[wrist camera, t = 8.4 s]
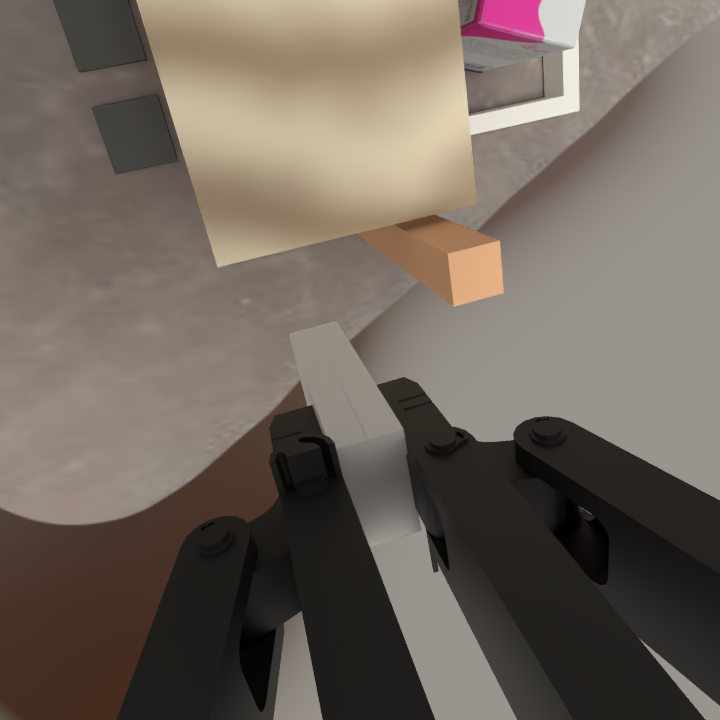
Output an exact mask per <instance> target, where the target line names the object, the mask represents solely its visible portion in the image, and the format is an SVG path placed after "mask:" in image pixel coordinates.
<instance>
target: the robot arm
mask: <svg viewBox="0 0 720 720" xmlns="http://www.w3.org/2000/svg"><path fill="white" fill-rule="evenodd" d="M289 337H290V341H291V345H292V349H293V352H294V356H295V360H296V364H297V368H298V371H299V375H300V379H301V383H302V387H303V391H304V394H305V398H306V402H307V407H303V408H300V409H296V410H293V411H290V412H286V413H283V414H280V415H276V416H275V417H274V419H273V421H272V423H271V425H270V427H269V431H270V436H271V440H272V446H273V452H272V453H271V455H270V461H269V463H270V467H271V470H272V473H273V476H274V479H275V483H276V486H277V489H278V492H279V497H278V499H277V500H276V502H275V503H274V505H273V506H272V507H271V508H270V509H269V510H268V511H267V512H265V513H264V514H263V515H261V516H260V517H258V518H256V519H254V520H253V521H251V522H249V523H246V521H245V520H244V519H241V518H239V517H236V516H222V517H218V518H215V519H211V520H209V521H207V522H205V523H203V524H201V525H200V526H198V527H197V528H195V529H194V530H193V531H192V532H191V533H190V534H189V535H188V536H187V537H186V539H185V541H184V542H183V544H182V546H181V548H180V551H179V553H178V556H177V559H176V561H175V564H174V567H173V570H172V572H171V575H170V578H169V580H168V583H167V586H166V588H165V591H164V594H163V596H162V599H161V602H160V604H159V607H158V610H157V613H156V615H155V618H154V621H153V623H152V626H151V629H150V631H149V634H148V637H147V639H146V642H145V645H144V647H143V650H142V653H141V656H140V658H139V661H138V664H137V667H136V669H135V672H134V675H133V677H132V680H131V682H130V685H129V688H128V690H127V693H126V696H125V698H124V701H123V704H122V706H121V710H120V712H119V715H118V717H117V720H273V717H274V709H275V701H276V693H277V685H278V676H279V669H280V661H281V653H282V645H283V636H284V624H283V623H284V622H286V621H287V620H289V619H290V618H292V617H293V616H294V615H296V614H297V613H299V612H300V611H302V614H303V620H304V624H305V630H306V635H307V640H308V645H309V650H310V656H311V661H312V666H313V671H314V677H315V682H316V686H317V692H318V697H319V702H320V707H321V713H322V718H323V720H435V718H434V716H433V713H432V710H431V708H430V705H429V702H428V700H427V697H426V694H425V692H424V689H423V687H422V684H421V681H420V679H419V676H418V674H417V671H416V668H415V665H414V663H413V660H412V658H411V655H410V652H409V650H408V647H407V644H406V642H405V639H404V636H403V634H402V631H401V629H400V626H399V623H398V621H397V618H396V615H395V613H394V610H393V607H392V605H391V602H390V599H389V597H388V594H387V592H386V589H385V586H384V584H383V581H382V578H381V576H380V573H379V570H378V568H377V565H376V562H375V560H374V557H373V554H372V552H371V549H370V547H373V546H376V545H379V544H382V543H385V542H388V541H390V540H394V539H397V538H400V537H402V536H406V535H409V534H412V533H415V532H418V531H421V526H420V520H419V515H420V517H421V519H422V521H423V523H424V525H425V527H426V532H427V538H428V544H429V550H430V555H431V561H432V567H433V571H434V572H437V571H438V564H439V567H440V569H441V571H442V573H443V574H444V576H445V578H446V580H447V582H448V584H449V586H450V588H451V590H452V592H453V594H454V596H455V598H456V600H457V602H458V604H459V606H460V608H461V610H462V612H463V614H464V616H465V618H466V620H467V622H468V624H469V626H470V628H471V630H472V632H473V633H474V635H475V638H476V639H477V641H478V643H479V645H480V647H481V649H482V651H483V653H484V655H485V657H486V659H487V661H488V663H489V665H490V667H491V669H492V671H493V673H494V675H495V677H496V679H497V681H498V683H499V685H500V687H501V689H502V690H503V693H504V695H505V697H506V698H507V700H508V702H509V704H510V706H511V708H512V710H513V712H514V714H515V716H516V718H517V720H705V719H704V718H703V716H702V715H701V714H700V713H699V711H698V710H697V709H696V708H695V707H694V705H693V704H692V703H691V702H690V701H689V699H688V698H687V697H686V696H685V694H684V693H683V692H682V691H681V690H680V688H679V687H678V686H677V685H676V683H675V682H674V681H673V680H672V679H671V677H670V676H669V675H668V674H667V672H666V671H665V670H664V669H663V668H662V666H661V665H660V664H659V663H658V661H657V660H656V659H655V658H654V656H653V655H652V654H651V653H650V652H649V650H648V649H647V648H646V647H645V646H644V644H643V643H642V642H641V641H640V639H641V640H642V641H643V642H644V643H646V644H647V645H648V646H649V647H650V648H652V649H653V650H654V651H655V652H656V653H658V654H659V655H660V656H661V657H662V658H663V659H665V660H666V661H667V662H668V663H669V664H671V665H672V666H673V667H674V668H675V669H677V670H678V671H679V672H680V673H681V674H683V675H684V676H685V677H686V678H687V679H689V680H690V681H691V682H692V683H693V684H695V685H696V686H697V687H698V688H699V689H700V690H702V691H703V692H704V693H705V694H706V695H708V696H709V697H710V698H711V699H712V700H714V701H715V702H716V703H717V704H719V705H720V500H718V499H716V498H714V497H712V496H710V495H708V494H706V493H705V492H702V491H701V490H699V489H697V488H695V487H693V486H691V485H689V484H688V483H686V482H684V481H682V480H680V479H678V478H676V477H674V476H672V475H671V474H669V473H666V472H665V471H663V470H661V469H659V468H657V467H655V466H654V465H652V464H650V463H648V462H646V461H644V460H642V459H640V458H638V457H637V456H635V455H633V454H631V453H629V452H627V451H625V450H623V449H621V448H620V447H617V446H615V445H614V444H612V443H610V442H608V441H606V440H604V439H603V438H601V437H599V436H597V435H595V434H593V433H591V432H589V431H587V430H586V429H584V428H582V427H580V426H578V425H576V424H574V423H572V422H570V421H567V420H565V419H562V418H557V417H549V416H546V417H535V418H532V419H529V420H526V421H524V422H522V423H521V424H520V425H518V426H517V427H516V429H515V431H514V434H513V435H514V440H511V441H500V442H478V441H477V440H476V439H475V438H474V437H473V436H472V435H471V434H470V433H468V432H467V431H466V430H463V429H460V428H457V427H452V426H451V425H450V424H449V422H448V421H447V420H446V419H445V417H444V416H443V415H442V413H441V412H440V411H439V410H438V408H437V407H436V406H435V405H434V403H432V401H431V400H430V398H429V397H428V396H427V395H426V393H425V392H424V391H423V389H422V388H421V387H420V385H419V384H418V383H416V382H414V381H412V380H409V379H407V378H405V377H403V378H399V379H396V380H392V381H389V382H386V383H382V384H378V385H376V384H375V382H374V381H373V379H372V377H371V376H370V374H369V373H368V371H367V369H366V368H365V366H364V365H363V363H362V361H361V360H360V358H359V357H358V355H357V353H356V352H355V350H354V349H353V347H352V345H351V344H350V342H349V341H348V339H347V337H346V336H345V334H344V332H343V331H342V329H341V328H340V326H339V324H338V323H337V321H334V322H330V323H326V324H323V325H319V326H315V327H311V328H308V329H304V330H300V331H296V332H293V333H289ZM582 508H584V509H585V510H586V511H585V510H584V509H582ZM587 511H588V512H589V513H591V514H589V513H588V512H587ZM437 563H438V564H437ZM639 638H640V639H639Z"/></svg>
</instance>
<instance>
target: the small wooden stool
mask: <svg viewBox="0 0 720 720" xmlns="http://www.w3.org/2000/svg"><path fill="white" fill-rule="evenodd" d="M136 1H137V4H138V8H139V11H140V14H141V17H142V21H143V24H144V27H145V31H146V34H147V37H148V40H149V44H150V47H151V50H152V54H153V57H154V60H155V63H156V67H157V70H158V73H159V77H160V80H161V83H162V86H163V90H164V93H165V96H166V100H167V103H168V106H169V109H170V113H171V116H172V119H173V122H174V126H175V129H176V132H177V136H178V139H179V142H180V145H181V149H182V152H183V155H184V159H185V162H186V165H187V168H188V172H189V175H190V178H191V182H192V185H193V188H194V191H195V195H196V198H197V201H198V205H199V208H200V211H201V214H202V218H203V221H204V224H205V228H206V231H207V234H208V237H209V241H210V244H211V247H212V250H213V254H214V257H215V260H216V264H217V267H221V266H225V265H229V264H233V263H238V262H242V261H246V260H250V259H254V258H258V257H262V256H266V255H270V254H274V253H279V252H283V251H287V250H291V249H295V248H299V247H303V246H307V245H311V244H315V243H320V242H324V241H328V240H332V239H336V238H340V237H344V236H348V235H352V234H356V233H361V232H365V231H369V230H373V229H377V228H381V227H385V226H389V225H393V224H397V223H402V222H406V221H410V220H414V219H418V218H422V217H426V216H430V215H434V214H438V213H443V212H447V211H451V210H455V209H459V208H463V207H467V206H471V205H475V204H477V199H476V188H475V177H474V167H473V156H472V145H471V135H470V124H469V113H468V103H467V92H466V81H465V71H464V60H463V49H462V39H461V28H460V18H459V7H458V0H136Z"/></svg>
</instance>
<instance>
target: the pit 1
mask: <svg viewBox="0 0 720 720" xmlns="http://www.w3.org/2000/svg"><path fill="white" fill-rule="evenodd" d="M53 1H54V4H55V7H56V9H57V12H58V15H59V18H60V21H61V23H62V26H63V29H64V32H65V34H66V37H67V40H68V43H69V46H70V48H71V51H72V54H73V57H74V60H75V62H76V65H77V68H78V71H79V72H85V71H90V70H95V69H101V68H106V67H111V66H117V65H122V64H128V63H133V62H138V61H144V60H146V56H145V53H144V50H143V47H142V43H141V40H140V37H139V34H138V31H137V27H136V24H135V21H134V18H133V14H132V11H131V8H130V5H129V2H128V0H53Z"/></svg>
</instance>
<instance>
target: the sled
mask: <svg viewBox="0 0 720 720" xmlns="http://www.w3.org/2000/svg"><path fill="white" fill-rule="evenodd" d="M543 71H544V96H545V97H544V98H540V99H535V100H530V101H526V102H521V103H517V104H512V105H507V106H503V107H498V108H494V109H489V110H485V111H480V112H475V113H471V114H469V124H470V135H473V134H478V133H482V132H487V131H491V130H496V129H500V128H505V127H509V126H514V125H518V124H523V123H527V122H531V121H536V120H540V119H545V118H549V117H554V116H558V115H563V114H567V113H572V112H576V111H579V51H578V37H577V42H576V46H575V47H574V48H573V49H568V50H564V51H561V52H557V53H553V54H549V55H545V56H543ZM356 234H357V235H358V236H359V237H361V238H362V239H363V240H365V241H366V242H367V243H369V244H370V245H371V246H373V247H374V248H375V249H377V250H378V251H380V252H381V253H382V254H384V255H385V256H386V257H388V258H389V259H390V260H392V261H393V262H394V263H396V264H397V265H398V266H400V267H401V268H402V269H404V270H405V271H407V272H408V273H409V274H411V275H412V276H413V277H415V278H416V279H417V280H419V281H420V282H421V283H423V284H424V285H425V286H427V287H428V288H429V289H431V290H432V291H434V292H435V293H436V294H438V295H439V296H440V297H442V298H443V299H444V300H446V301H447V302H448V303H450V304H451V305H452V306H458V305H462V304H465V303H469V302H473V301H476V300H480V299H483V298H487V297H491V296H495V295H499V294H502V293H504V289H503V276H502V264H501V251H500V240H497V239H495V238H492V237H489V236H487V235H484V234H482V233H479V232H477V231H474V230H472V229H469V228H467V227H464V226H462V225H459V224H456V223H454V222H451V221H449V220H446V219H444V218H441V217H439V216H436V215H430V216H426V217H422V218H418V219H414V220H410V221H406V222H402V223H397V224H393V225H389V226H385V227H381V228H377V229H373V230H369V231H365V232H361V233H356Z"/></svg>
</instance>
